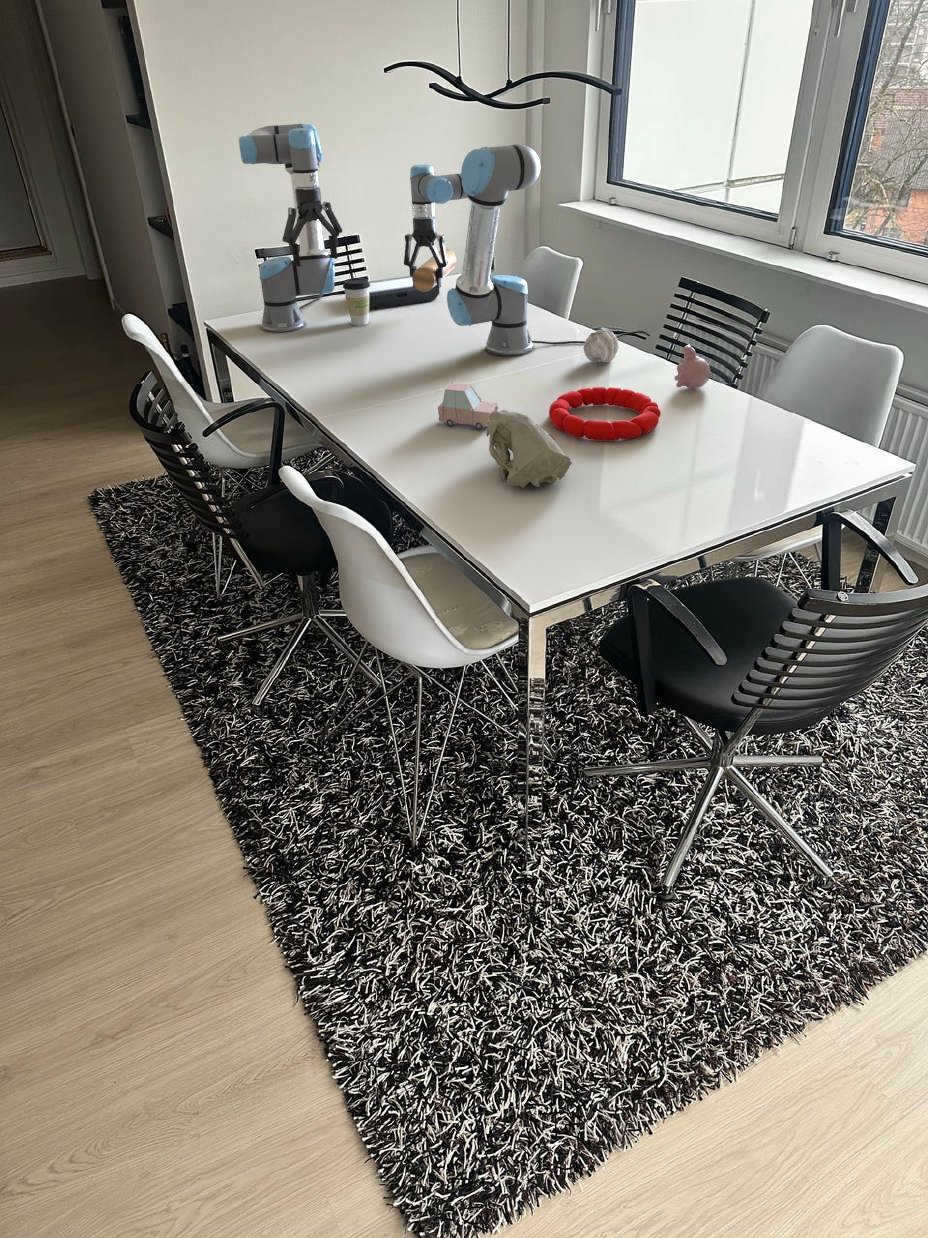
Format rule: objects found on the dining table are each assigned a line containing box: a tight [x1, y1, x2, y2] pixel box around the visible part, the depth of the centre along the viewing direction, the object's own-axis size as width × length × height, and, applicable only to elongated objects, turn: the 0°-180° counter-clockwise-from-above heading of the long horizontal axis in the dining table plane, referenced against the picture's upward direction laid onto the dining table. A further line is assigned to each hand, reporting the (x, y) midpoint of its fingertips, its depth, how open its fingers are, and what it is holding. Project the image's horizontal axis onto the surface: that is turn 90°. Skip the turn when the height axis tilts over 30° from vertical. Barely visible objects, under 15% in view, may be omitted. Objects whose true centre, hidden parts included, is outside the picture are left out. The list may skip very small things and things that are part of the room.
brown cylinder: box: [412, 248, 457, 292], centre depth 316 cm, size 28×8×8 cm, turn 165°
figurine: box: [674, 344, 711, 390], centre depth 259 cm, size 9×11×12 cm
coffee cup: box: [342, 277, 370, 327], centre depth 323 cm, size 10×10×15 cm
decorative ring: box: [548, 386, 661, 442], centre depth 242 cm, size 7×30×30 cm
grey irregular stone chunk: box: [485, 409, 573, 489], centre depth 216 cm, size 17×25×20 cm
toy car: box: [437, 382, 499, 431], centre depth 243 cm, size 9×15×10 cm, turn 70°
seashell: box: [582, 329, 620, 363], centre depth 282 cm, size 10×15×10 cm
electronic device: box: [368, 275, 440, 311], centre depth 349 cm, size 32×6×20 cm
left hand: (316, 261), depth 278 cm, fingers open, 13 cm apart
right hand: (427, 286), depth 310 cm, fingers closed on brown cylinder, 8 cm apart
